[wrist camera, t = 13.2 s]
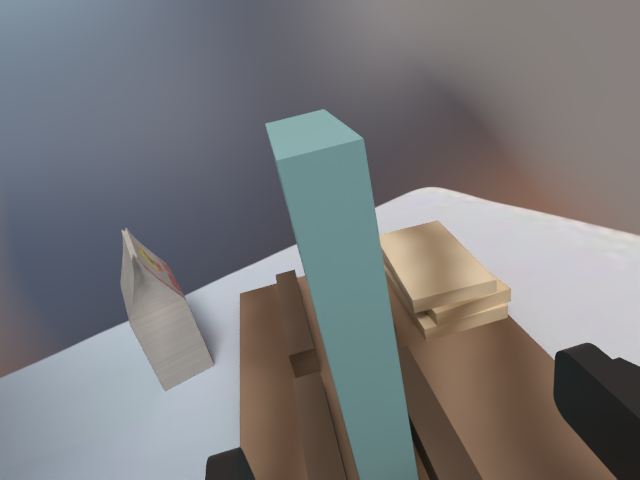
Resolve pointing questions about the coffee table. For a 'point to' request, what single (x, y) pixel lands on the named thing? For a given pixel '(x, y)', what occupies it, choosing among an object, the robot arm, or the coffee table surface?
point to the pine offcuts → (441, 281)
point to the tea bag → (161, 316)
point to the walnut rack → (420, 393)
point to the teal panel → (347, 285)
